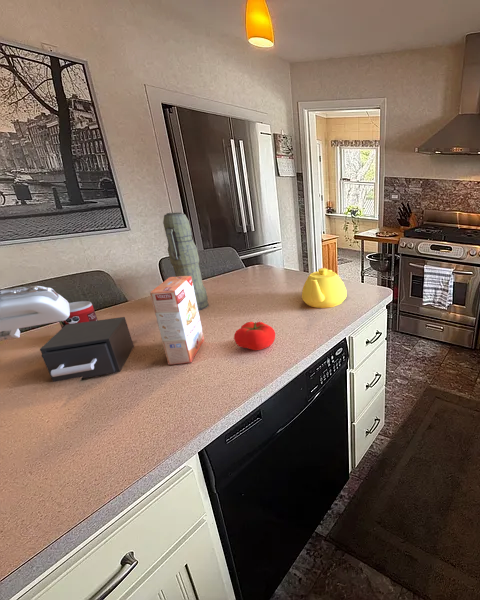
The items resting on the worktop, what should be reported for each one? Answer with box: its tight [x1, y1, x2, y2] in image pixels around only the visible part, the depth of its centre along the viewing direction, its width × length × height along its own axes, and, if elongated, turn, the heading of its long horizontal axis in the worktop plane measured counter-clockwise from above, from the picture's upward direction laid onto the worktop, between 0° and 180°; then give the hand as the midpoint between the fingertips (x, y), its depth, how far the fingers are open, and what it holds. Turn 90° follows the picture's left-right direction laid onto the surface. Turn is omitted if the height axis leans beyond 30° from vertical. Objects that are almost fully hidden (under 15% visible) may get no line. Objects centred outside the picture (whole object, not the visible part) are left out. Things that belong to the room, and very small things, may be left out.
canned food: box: [58, 300, 98, 329], centre depth 98 cm, size 8×8×11 cm
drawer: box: [41, 342, 116, 383], centre depth 82 cm, size 18×11×8 cm, turn 26°
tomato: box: [233, 321, 276, 351], centre depth 96 cm, size 10×11×6 cm
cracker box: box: [149, 276, 205, 366], centre depth 90 cm, size 14×6×21 cm, turn 17°
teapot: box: [301, 267, 348, 309], centre depth 129 cm, size 25×18×14 cm
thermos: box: [162, 212, 209, 311], centre depth 118 cm, size 9×12×35 cm
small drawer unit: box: [39, 316, 135, 380], centre depth 85 cm, size 15×13×10 cm
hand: (8, 336), depth 58 cm, fingers closed
